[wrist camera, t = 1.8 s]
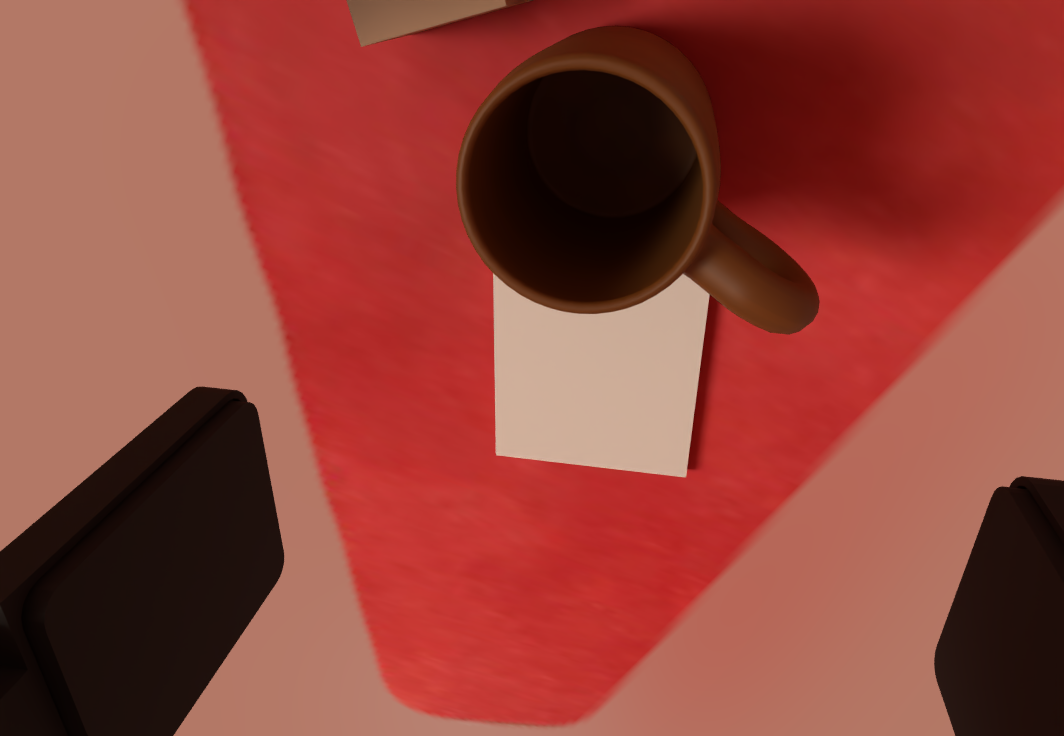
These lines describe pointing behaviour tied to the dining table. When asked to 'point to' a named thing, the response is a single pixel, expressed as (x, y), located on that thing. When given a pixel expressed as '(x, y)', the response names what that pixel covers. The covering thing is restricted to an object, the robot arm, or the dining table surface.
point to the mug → (615, 186)
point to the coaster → (599, 380)
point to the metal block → (414, 15)
